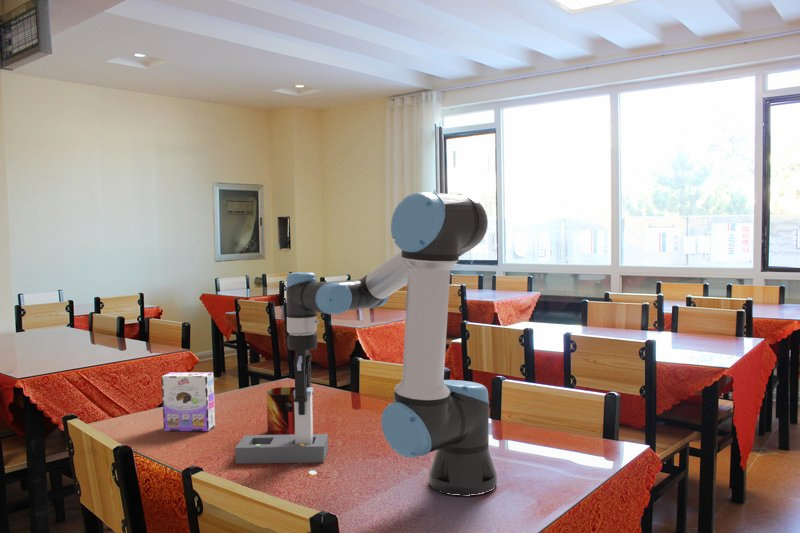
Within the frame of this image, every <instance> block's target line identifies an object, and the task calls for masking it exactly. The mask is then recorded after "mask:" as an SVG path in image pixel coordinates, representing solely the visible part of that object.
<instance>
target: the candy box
mask: <svg viewBox="0 0 800 533" xmlns="http://www.w3.org/2000/svg"><path fill="white" fill-rule="evenodd" d="M214 379H215V378H214V372H212V371H209V372H208V371H207V372H196V371H195V372H193V371H191V372H189V371H187V372H185V371H183V372H182V371H181V372H178V371H177V372H176V371H175V372H172V371H171V372H168V373H166V374H164V375H162V376H161V395H162V399H161V400H162V416H163V418H162V420H163V430H162V431H164V432H209V431H210V430H212V429H213V428H215V427H216V415H215V414H216V410H215V409H216V408H215V407H216V406H215V385H214V384H215V382H214V381H215V380H214Z"/></svg>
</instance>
